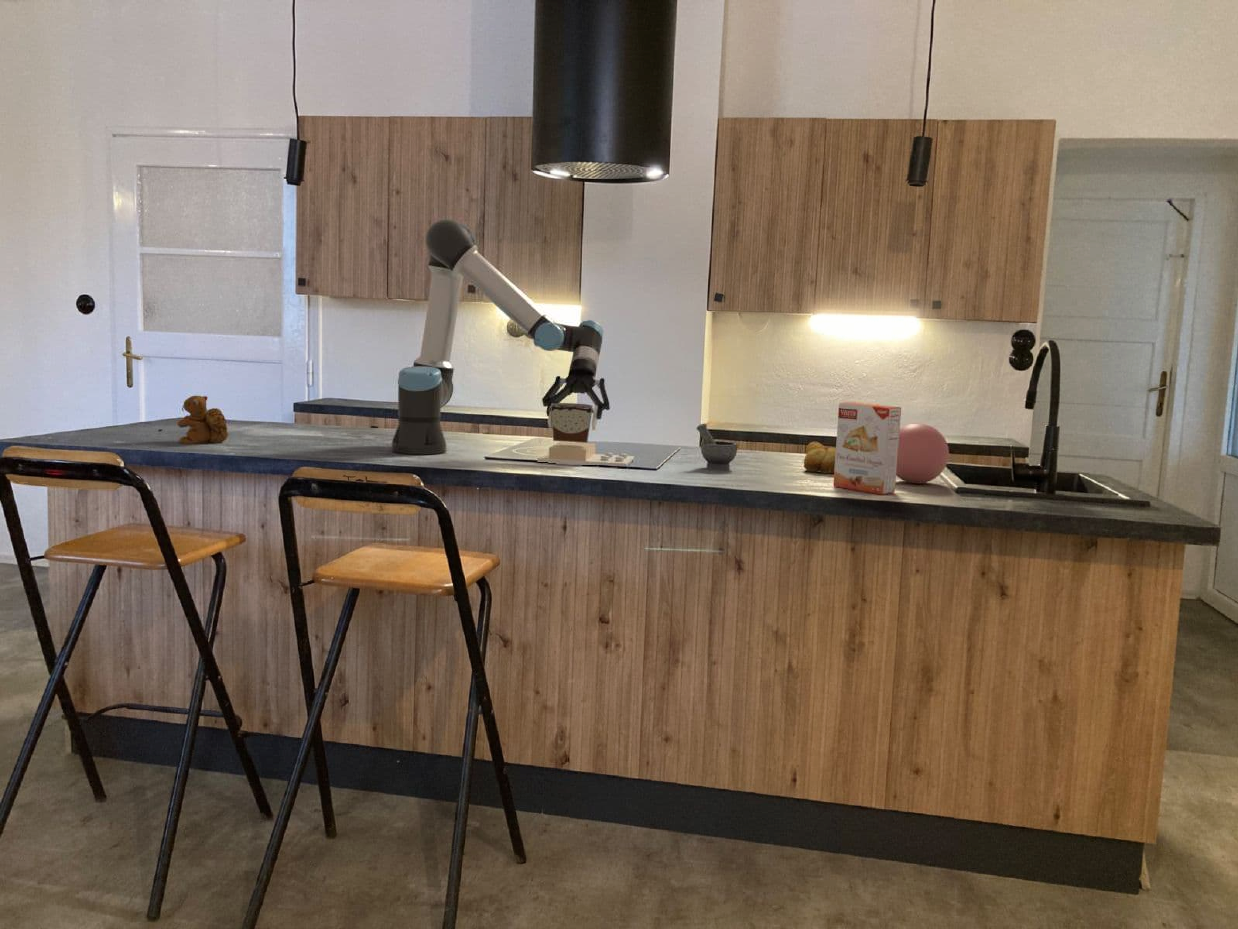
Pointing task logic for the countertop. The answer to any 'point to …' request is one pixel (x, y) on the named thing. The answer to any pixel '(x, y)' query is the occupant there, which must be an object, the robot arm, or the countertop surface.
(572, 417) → the food container
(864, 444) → the cracker box
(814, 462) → the bread roll
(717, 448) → the mortar and pestle
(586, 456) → the build plate
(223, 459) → the countertop surface
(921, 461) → the balloon
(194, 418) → the stuffed squirrel
